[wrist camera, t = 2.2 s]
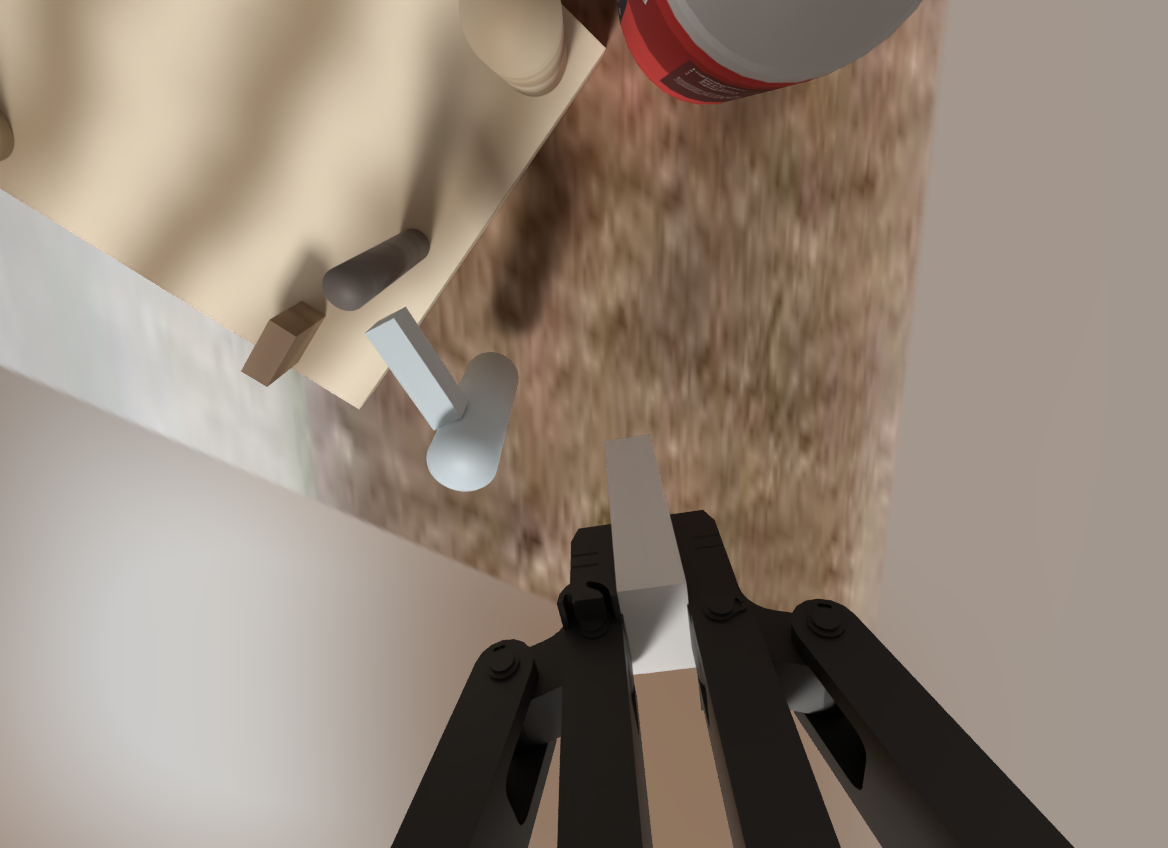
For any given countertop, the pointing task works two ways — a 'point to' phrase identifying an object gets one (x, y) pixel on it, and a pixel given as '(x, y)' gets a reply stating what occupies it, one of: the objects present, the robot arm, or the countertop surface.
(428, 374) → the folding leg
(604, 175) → the countertop surface
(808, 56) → the canned food
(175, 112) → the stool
